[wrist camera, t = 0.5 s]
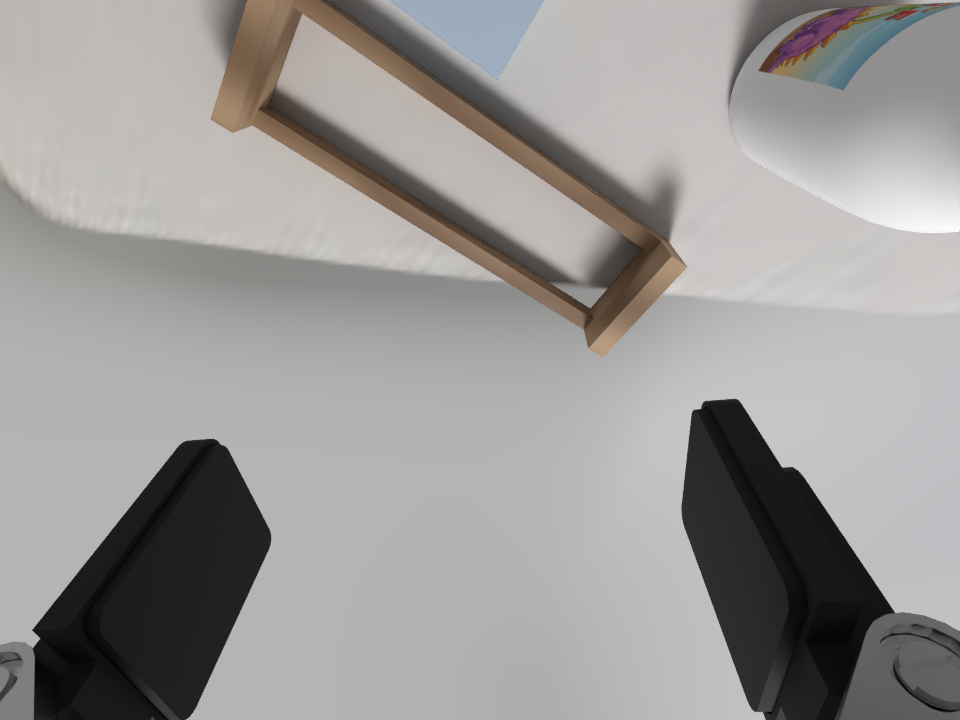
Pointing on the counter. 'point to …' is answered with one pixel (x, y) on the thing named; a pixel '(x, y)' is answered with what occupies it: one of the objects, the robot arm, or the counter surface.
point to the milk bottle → (860, 111)
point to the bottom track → (247, 103)
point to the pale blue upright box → (476, 26)
